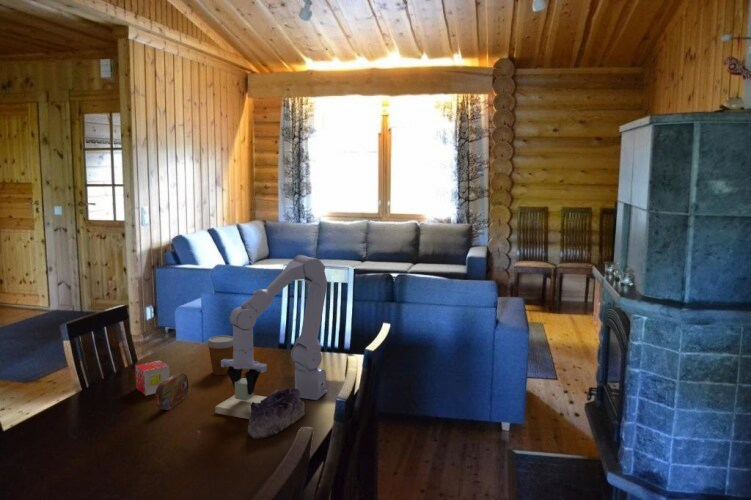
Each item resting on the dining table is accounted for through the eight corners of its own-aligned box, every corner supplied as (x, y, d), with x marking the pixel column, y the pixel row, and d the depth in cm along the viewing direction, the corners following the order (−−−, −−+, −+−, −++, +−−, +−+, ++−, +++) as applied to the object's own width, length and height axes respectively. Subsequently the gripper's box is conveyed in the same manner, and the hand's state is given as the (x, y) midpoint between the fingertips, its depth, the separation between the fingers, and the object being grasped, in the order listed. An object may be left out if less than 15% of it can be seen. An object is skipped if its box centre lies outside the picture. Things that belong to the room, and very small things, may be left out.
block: (253, 395, 176) (253, 379, 176) (246, 400, 173) (246, 384, 172) (242, 394, 178) (242, 378, 177) (235, 398, 174) (234, 382, 173)
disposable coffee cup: (241, 370, 209) (240, 337, 207) (221, 378, 201) (220, 344, 199) (222, 365, 214) (221, 333, 212) (202, 373, 206) (201, 339, 204)
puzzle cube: (145, 395, 185) (144, 371, 184) (136, 388, 191) (135, 365, 190) (170, 389, 190) (169, 366, 189) (160, 383, 196) (159, 360, 195)
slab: (272, 405, 179) (272, 397, 179) (251, 420, 168) (250, 412, 168) (238, 400, 183) (238, 392, 183) (215, 414, 172) (215, 406, 172)
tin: (163, 414, 171) (162, 386, 170) (153, 413, 171) (152, 385, 170) (189, 395, 185) (189, 369, 184) (180, 394, 186) (179, 369, 185)
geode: (276, 445, 153) (270, 408, 152) (239, 442, 157) (233, 407, 156) (313, 412, 171) (308, 379, 170) (279, 411, 176) (274, 379, 175)
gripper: (214, 349, 172) (215, 393, 174) (257, 354, 167) (258, 400, 169) (228, 342, 179) (229, 385, 180) (270, 347, 174) (270, 392, 175)
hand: (244, 392), depth 175 cm, fingers closed on block, 4 cm apart
